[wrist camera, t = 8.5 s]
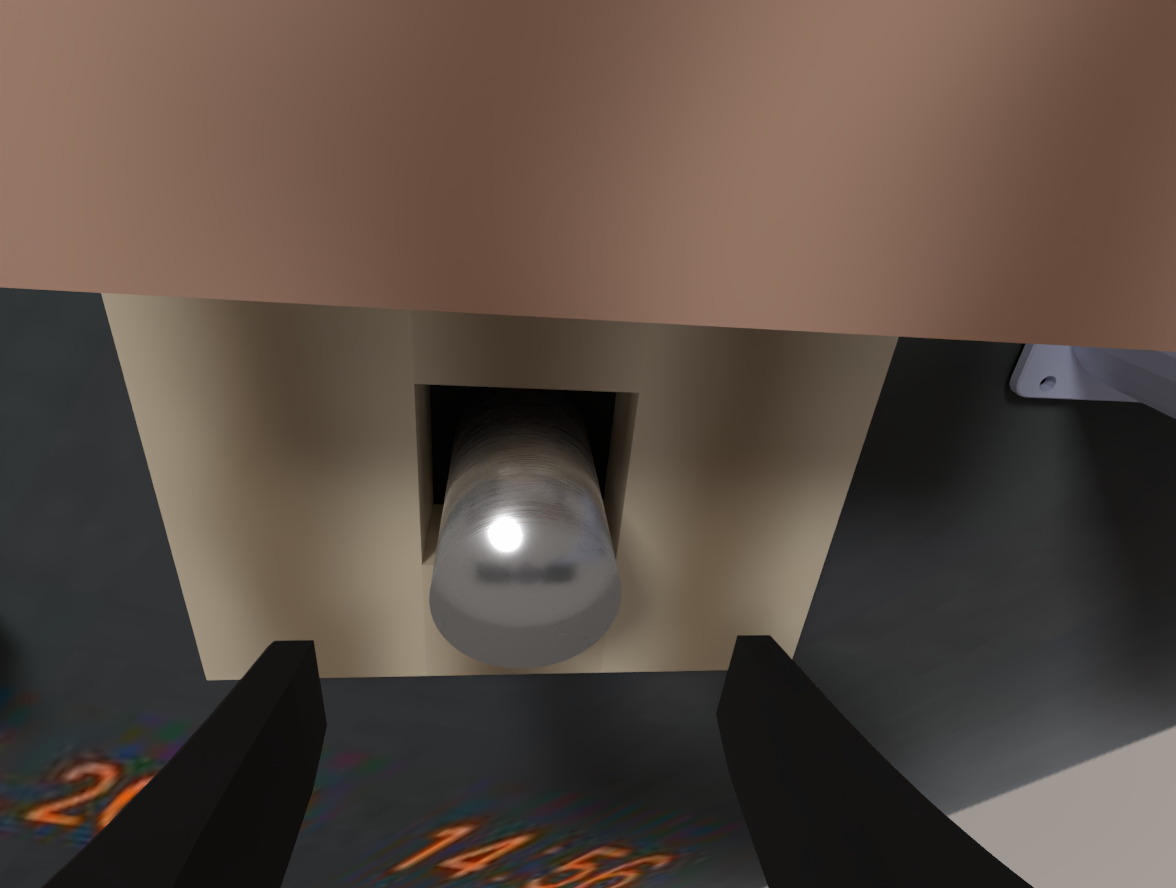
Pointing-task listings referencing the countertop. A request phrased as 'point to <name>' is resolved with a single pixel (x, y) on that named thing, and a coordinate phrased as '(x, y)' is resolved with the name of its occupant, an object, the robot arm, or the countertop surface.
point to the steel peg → (523, 534)
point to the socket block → (565, 267)
